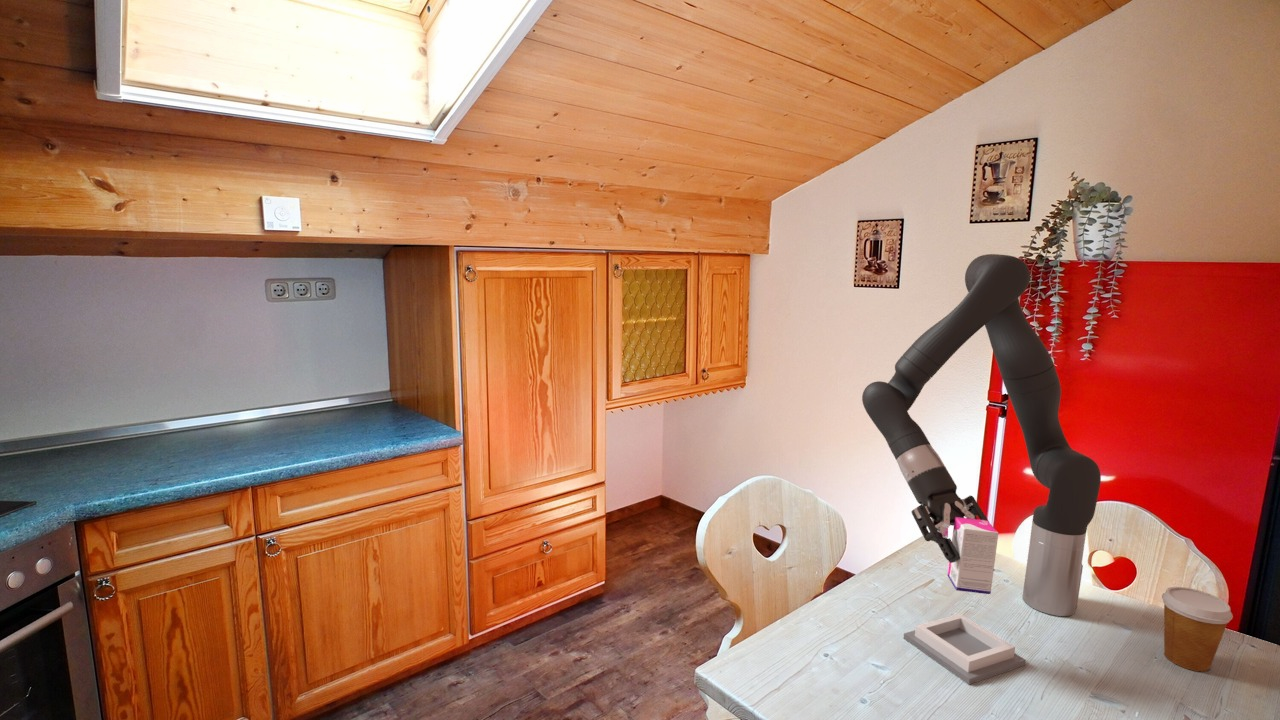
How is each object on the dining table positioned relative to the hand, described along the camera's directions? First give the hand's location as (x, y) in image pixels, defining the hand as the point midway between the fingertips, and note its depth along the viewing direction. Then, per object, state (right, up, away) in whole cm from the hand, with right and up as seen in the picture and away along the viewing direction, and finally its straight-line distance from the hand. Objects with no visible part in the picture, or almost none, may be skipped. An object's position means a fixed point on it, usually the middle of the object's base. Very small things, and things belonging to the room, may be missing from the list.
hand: (972, 557), depth 112 cm
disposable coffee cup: (+39, -19, +2) cm, 44 cm away
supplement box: (0, -5, +1) cm, 5 cm away
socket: (0, -18, +3) cm, 18 cm away
